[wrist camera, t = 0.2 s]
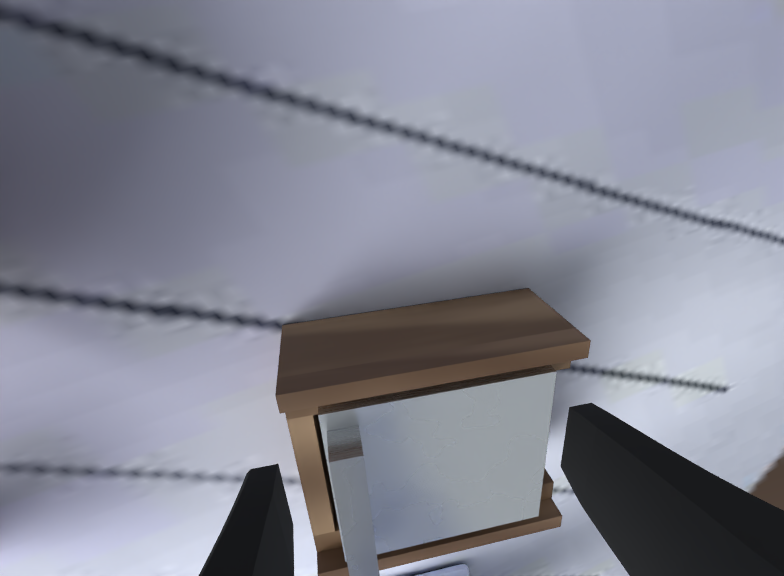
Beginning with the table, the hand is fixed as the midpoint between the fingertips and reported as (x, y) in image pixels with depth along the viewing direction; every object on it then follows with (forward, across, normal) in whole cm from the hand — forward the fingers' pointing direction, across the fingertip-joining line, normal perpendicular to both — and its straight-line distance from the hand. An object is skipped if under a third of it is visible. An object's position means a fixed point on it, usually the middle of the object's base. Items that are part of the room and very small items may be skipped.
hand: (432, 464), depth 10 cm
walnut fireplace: (+10, -2, +6) cm, 12 cm away
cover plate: (+6, -2, +6) cm, 9 cm away
